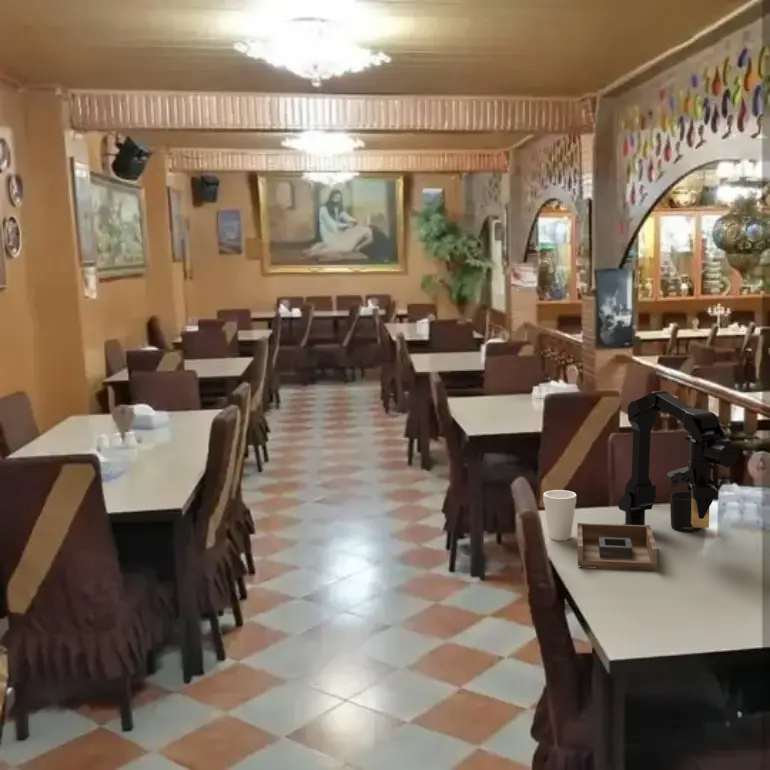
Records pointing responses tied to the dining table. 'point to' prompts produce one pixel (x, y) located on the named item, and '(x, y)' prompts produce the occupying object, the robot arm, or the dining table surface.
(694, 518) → the wooden block
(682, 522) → the pen holder
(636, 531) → the inlet box
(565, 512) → the foam cup
